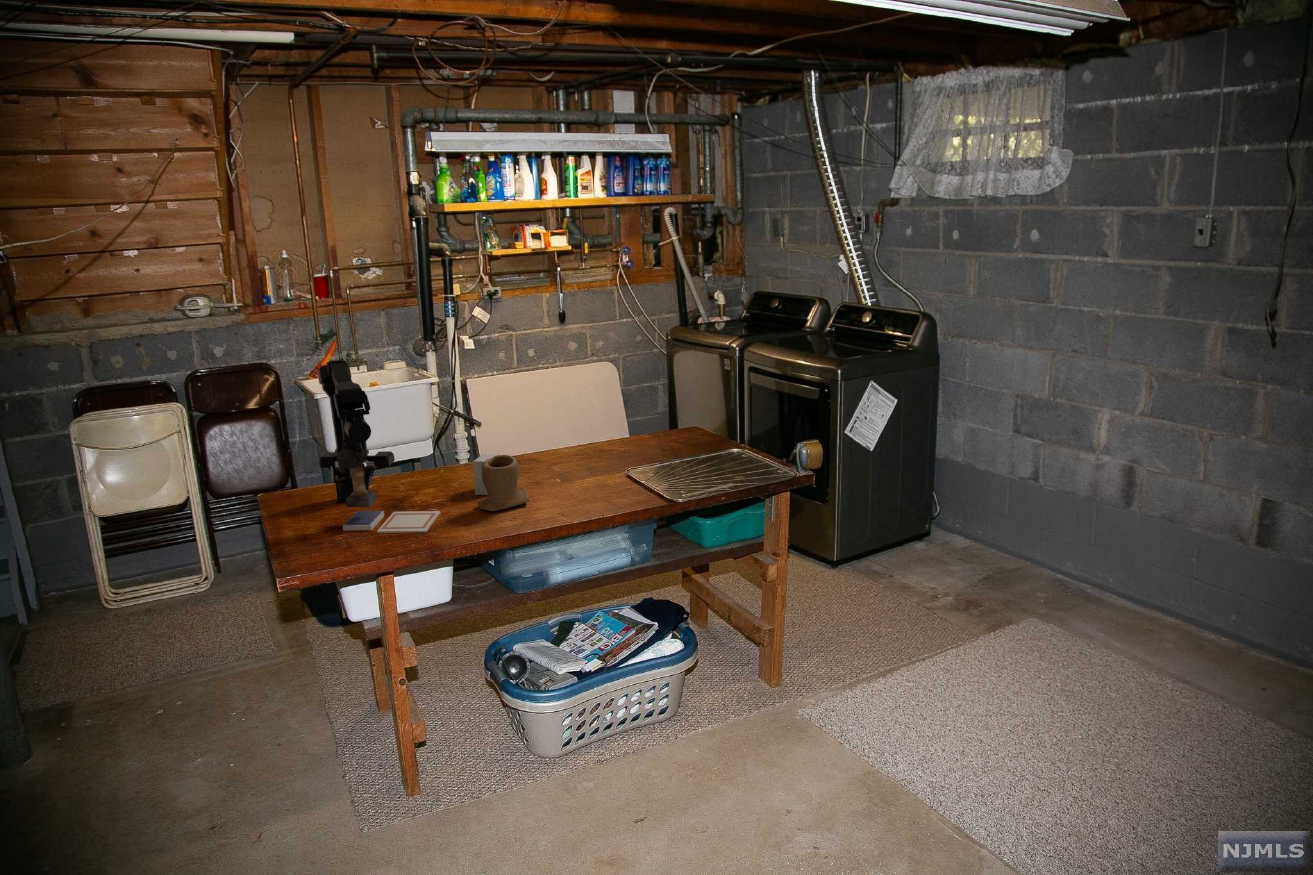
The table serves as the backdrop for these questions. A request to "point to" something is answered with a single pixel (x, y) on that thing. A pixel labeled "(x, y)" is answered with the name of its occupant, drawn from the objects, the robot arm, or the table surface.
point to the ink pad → (363, 520)
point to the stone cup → (501, 484)
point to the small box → (480, 474)
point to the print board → (409, 522)
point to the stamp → (360, 489)
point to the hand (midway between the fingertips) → (360, 489)
